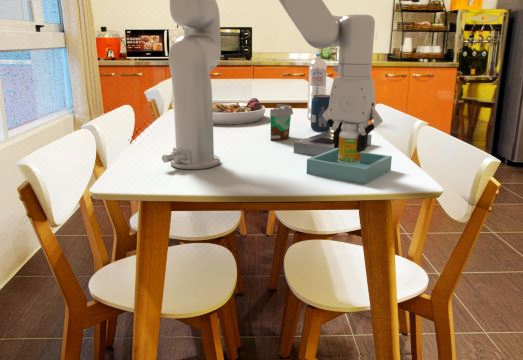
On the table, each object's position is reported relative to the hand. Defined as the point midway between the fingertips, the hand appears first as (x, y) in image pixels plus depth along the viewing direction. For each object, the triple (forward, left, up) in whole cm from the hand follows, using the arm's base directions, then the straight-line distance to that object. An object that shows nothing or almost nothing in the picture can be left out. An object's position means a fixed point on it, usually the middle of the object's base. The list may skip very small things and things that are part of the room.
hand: (349, 148), depth 115 cm
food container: (+23, +35, -6) cm, 42 cm away
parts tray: (0, 0, -6) cm, 6 cm away
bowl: (+40, +73, -6) cm, 83 cm away
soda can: (+42, +32, -6) cm, 53 cm away
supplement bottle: (0, 0, -4) cm, 4 cm away
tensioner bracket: (+20, +15, -6) cm, 26 cm away
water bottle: (+61, +45, -6) cm, 76 cm away
